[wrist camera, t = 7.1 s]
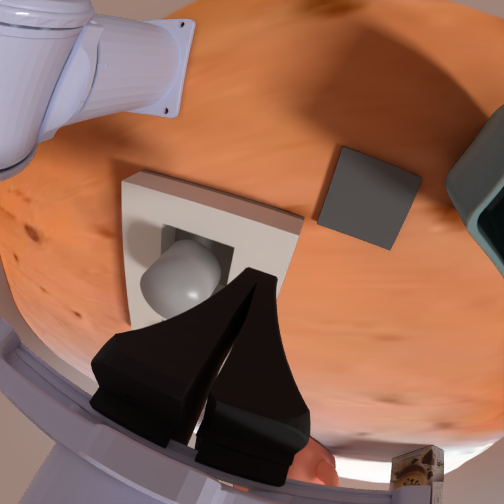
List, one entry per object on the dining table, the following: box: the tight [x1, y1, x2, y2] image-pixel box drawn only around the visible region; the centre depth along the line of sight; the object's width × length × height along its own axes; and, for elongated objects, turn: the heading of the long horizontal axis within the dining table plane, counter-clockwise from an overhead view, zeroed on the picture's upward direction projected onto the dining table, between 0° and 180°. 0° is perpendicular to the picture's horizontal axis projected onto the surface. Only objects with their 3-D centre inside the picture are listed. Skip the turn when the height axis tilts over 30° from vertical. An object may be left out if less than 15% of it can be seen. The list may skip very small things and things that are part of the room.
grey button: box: [140, 240, 221, 319], centre depth 21 cm, size 5×5×4 cm
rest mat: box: [317, 146, 422, 250], centre depth 19 cm, size 6×6×1 cm
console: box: [122, 170, 304, 374], centre depth 27 cm, size 14×22×3 cm, turn 168°
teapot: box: [233, 438, 339, 492], centre depth 35 cm, size 20×19×14 cm
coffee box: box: [389, 445, 444, 504], centre depth 30 cm, size 9×6×16 cm
